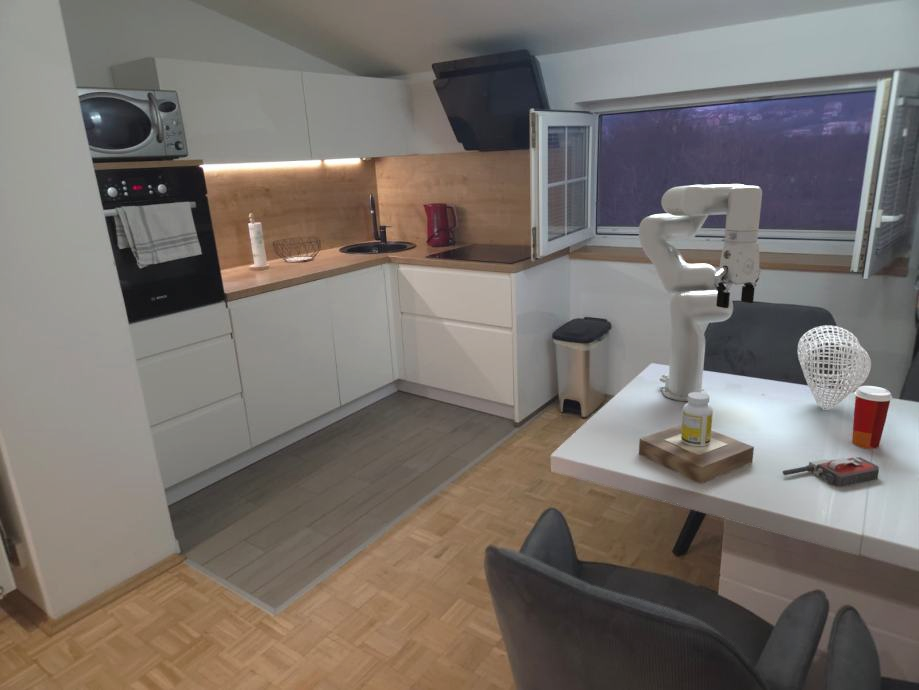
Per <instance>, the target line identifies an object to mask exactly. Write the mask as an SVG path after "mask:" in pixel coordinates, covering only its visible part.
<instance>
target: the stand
mask: <svg viewBox="0 0 919 690" xmlns="http://www.w3.org/2000/svg"><path fill="white" fill-rule="evenodd" d="M681 433H682V424H680V425H677V426H674V427H671V428H668V429H665V430H662V431H659V432H655V433H653V434H649V435H647V436H643V437H640V438H639V442H638V443H639V444H638V445H639V446H638V454H639V455H640V456H643V458H644V457H645V458H646V459H648V460H651V461H653V462H655V463H656V464H659V465H662V466H663V467H665V468H667V469H670V470H671V471H673V472H675V471H676V473H677V472H678V473H677V474H679V473H680V474H679V475H681V474H682V476H684V477H685V478H688V479H690V480H692V481H694V482H696V483H698V484H703V483H706V482H708V481H711V480H713V479H715V478H718V477H720V476H723V475H726V474H728V473H731V472H733V471H735V470H737V469H740V468H742V467H743V468H744V467H745V466H747V465H749V464H752V463H753V460H754V450H755V446H752V445H750V444H748V443H746V442H743V441H740V440H737V439H735V438H732V437H730V436H727V435H725V434H722V433H720V432H717V431H714V430H712V429H711V439H710V443H709V444H708V445H705V446H692V445H688V444H686V443H684V442H683V441H682V439H681Z"/></svg>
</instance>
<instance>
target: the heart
mask: <svg viewBox="0 0 919 690" xmlns="http://www.w3.org/2000/svg"><path fill="white" fill-rule="evenodd" d="M809 339H810V340H809ZM844 343H845V344H844ZM848 344H849V345H848ZM837 348H838V349H837ZM821 350H822V352H821ZM796 352H797V358H798V361H799V364H800V367H801V370H802V373H803V377H804V378H805V379H804V380H805V381H806V384H807V386H808V388H809V390H810V392H811V394H812V397H813V398H814V400H815V401H816V404H817V406H818V407H819V408H820V409H821V410H824V411H830V410H832V409H834V407H836V406H837V405H838V404H840V403H841V402H842V401H843V400H844V399H845V398H847V397H848V396H849V395H850V394H852V393H853V392H855V391H856V390H857V389H858V387H860V386H862V385H863V384H864V383H865V381H866V380H867V378H868V377H869V375H870V372H871V368H872V360H871V358H870V355H869V353H868V352H867V351H866V349H864V348H863V346H861V344H860V341H859V340H858V337H857V336H855V335H854V334H853V333H852V332H851V331H850V330H847V329H846V328H843V327H842V326H841V327H840V326H838V325H831V324H830V325H820V326H815V327H813V328H811V329H809V330H807V331H806V332H805V333H804V334H803V335H802V336H801V337H800V338H799V339H798V344H797V351H796ZM826 354H828V355H826ZM845 355H846V357H845ZM850 356H851V357H850ZM820 357H822V359H820ZM825 358H828V359H825ZM820 364H822V367H820ZM825 365H827V367H825ZM831 365H832V368H831ZM844 366H845V368H844ZM820 370H821V373H820ZM825 371H827V373H825ZM830 371H832V373H831V374H830ZM836 371H837V372H836ZM834 382H835V383H834Z"/></svg>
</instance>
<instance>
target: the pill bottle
mask: <svg viewBox="0 0 919 690" xmlns="http://www.w3.org/2000/svg"><path fill="white" fill-rule="evenodd" d="M709 403H710V395H709V394H708V393H707V394H705V393H701V392H692V393H689V394H688V401H687V403H685V404H684V405H683V406H682V407H683V408H682V418H681V419H682V420H681V425H682V433H681V439H682V441H683V442H684V443H686V444H688V445H692V446H705V445H708V444H709V443H710V439H711V430H712V427H713V426H712V425H713V412H714V411H713V410H714V409H713V408H712V406H711V405H710V404H709Z"/></svg>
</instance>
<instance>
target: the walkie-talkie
mask: <svg viewBox="0 0 919 690" xmlns="http://www.w3.org/2000/svg"><path fill="white" fill-rule="evenodd" d="M879 471H880V467H879V466H878V465H877V464H875V463H874V462H871V461H869V460H866V459H864V458H863V457H861V456H860V457H859V456H857V457H854V456H853V457H849V458H845V457H841V458H837V459H819V460H816V461H814V460H812V461H809V462H808V465H805V466H801V467H795V468H790V469H785V470H783V471H782V474H783V475H784V476H788V475H794V474H799V473H804V472H812V473H813V474H814V476H815V477H819V478H820V479H822V480H825V481H826V482H827V483H828V484H832V485H833V486H836V487H839V488H842V487H846V486H852V485H856V484H862V483H866V482H870V481H871V480H872V481H875V480H878V477H879Z"/></svg>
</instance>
